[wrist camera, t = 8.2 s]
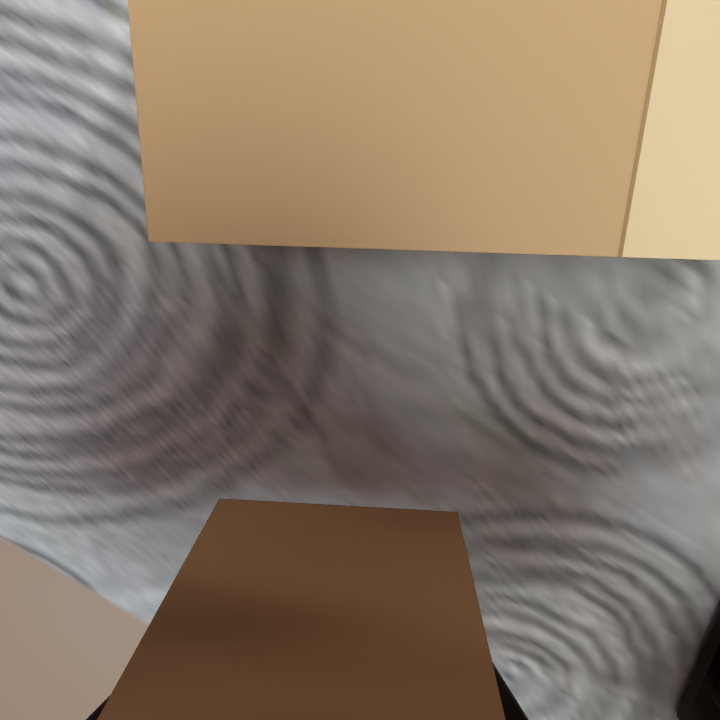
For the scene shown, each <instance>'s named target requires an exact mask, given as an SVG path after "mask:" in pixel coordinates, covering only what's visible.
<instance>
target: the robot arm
mask: <svg viewBox="0 0 720 720" xmlns="http://www.w3.org/2000/svg"><path fill="white" fill-rule="evenodd" d="M492 664H493V662H492ZM493 668H494V672H495V677H496V681H497V685H498V689H499V694H500V698H501V702H502V707H503V711H504V715H505V720H528V718H527V716H526V715H525V713H524V712H523V710H522V708H521V707H520V705H519V704H518V702H517V700H516V699H515V697H514V696H513V694H512V693H511V691H510V689H509V688H508V686H507V685H506V683H505V681H504V680H503V678H502V677H501V675H500V673H499V672H498V670H497V669H496V667H495V665H494V664H493ZM109 697H110V696H109ZM109 697H108V698H107V699H106V700H105V701H104V702H103V703H102V704H101V705H100V706H99V707H98V708H97V709H96V710H95V711H94V712H93V713H92V714H91V715H90V716H89V717H88V718H87V719H86V720H97V719H98V717H99V715H100V713H101V712H102V710H103V708H104V706H105V704H106V703H107V701H108V699H109ZM677 717H678V719H679V720H720V613H719V616H718V618H717V620H716V623H715V625H714V627H713V630H712V632H711V635H710V637H709V639H708V642H707V644H706V646H705V649H704V651H703V653H702V656H701V658H700V661H699V663H698V665H697V668H696V670H695V672H694V675H693V677H692V679H691V682H690V684H689V687H688V689H687V691H686V694H685V696H684V698H683V701H682V703H681V706H680V708H679V710H678V713H677Z"/></svg>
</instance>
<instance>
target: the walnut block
mask: <svg viewBox="0 0 720 720" xmlns="http://www.w3.org/2000/svg"><path fill="white" fill-rule="evenodd" d="M97 720H505V715H504V711H503V707H502V702H501V698H500V694H499V689H498V685H497V681H496V677H495V672H494V668H493V664H492V659H491V655H490V651H489V646H488V642H487V638H486V633H485V629H484V625H483V621H482V616H481V612H480V608H479V603H478V599H477V595H476V590H475V586H474V582H473V577H472V573H471V569H470V565H469V560H468V556H467V552H466V547H465V543H464V539H463V534H462V530H461V526H460V521H459V517H458V513H457V512H448V511H430V510H412V509H394V508H377V507H359V506H341V505H324V504H306V503H288V502H270V501H253V500H235V499H219V500H218V502H217V504H216V506H215V508H214V509H213V511H212V513H211V515H210V517H209V518H208V520H207V522H206V524H205V526H204V527H203V529H202V531H201V533H200V535H199V536H198V538H197V540H196V542H195V544H194V546H193V547H192V549H191V551H190V553H189V555H188V556H187V558H186V560H185V562H184V564H183V565H182V567H181V569H180V571H179V573H178V574H177V576H176V578H175V580H174V582H173V583H172V585H171V587H170V589H169V591H168V592H167V594H166V596H165V598H164V600H163V602H162V603H161V605H160V607H159V609H158V611H157V612H156V614H155V616H154V618H153V620H152V621H151V623H150V625H149V627H148V629H147V631H146V632H145V634H144V636H143V638H142V639H141V641H140V643H139V645H138V647H137V648H136V650H135V652H134V654H133V656H132V658H131V659H130V661H129V663H128V665H127V667H126V668H125V670H124V672H123V674H122V676H121V677H120V679H119V681H118V683H117V685H116V686H115V688H114V690H113V692H112V694H111V695H110V697H109V699H108V701H107V703H106V704H105V706H104V708H103V710H102V712H101V713H100V715H99V717H98V719H97Z"/></svg>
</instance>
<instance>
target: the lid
mask: <svg viewBox="0 0 720 720" xmlns="http://www.w3.org/2000/svg"><path fill="white" fill-rule="evenodd" d="M128 9H129V21H130V33H131V44H132V56H133V68H134V79H135V91H136V102H137V114H138V126H139V137H140V149H141V161H142V172H143V184H144V196H145V207H146V219H147V231H148V242H178V243H209V244H240V245H270V246H301V247H331V248H362V249H393V250H423V251H454V252H484V253H515V254H546V255H576V256H607V257H637V258H668V259H699V260H720V0H128Z"/></svg>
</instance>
